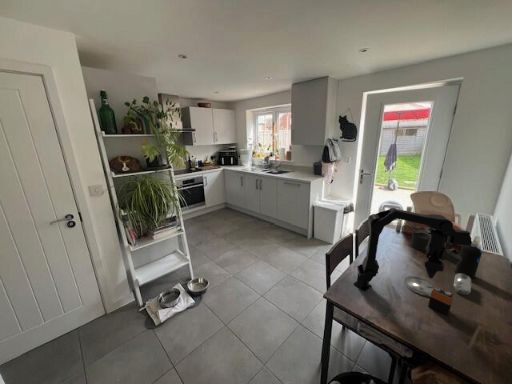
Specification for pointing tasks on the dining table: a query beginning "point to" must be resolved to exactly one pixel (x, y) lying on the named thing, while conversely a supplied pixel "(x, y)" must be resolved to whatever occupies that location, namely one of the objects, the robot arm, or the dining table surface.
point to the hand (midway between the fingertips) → (430, 272)
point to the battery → (440, 300)
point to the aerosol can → (469, 260)
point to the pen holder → (420, 241)
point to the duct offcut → (462, 284)
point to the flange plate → (419, 286)
